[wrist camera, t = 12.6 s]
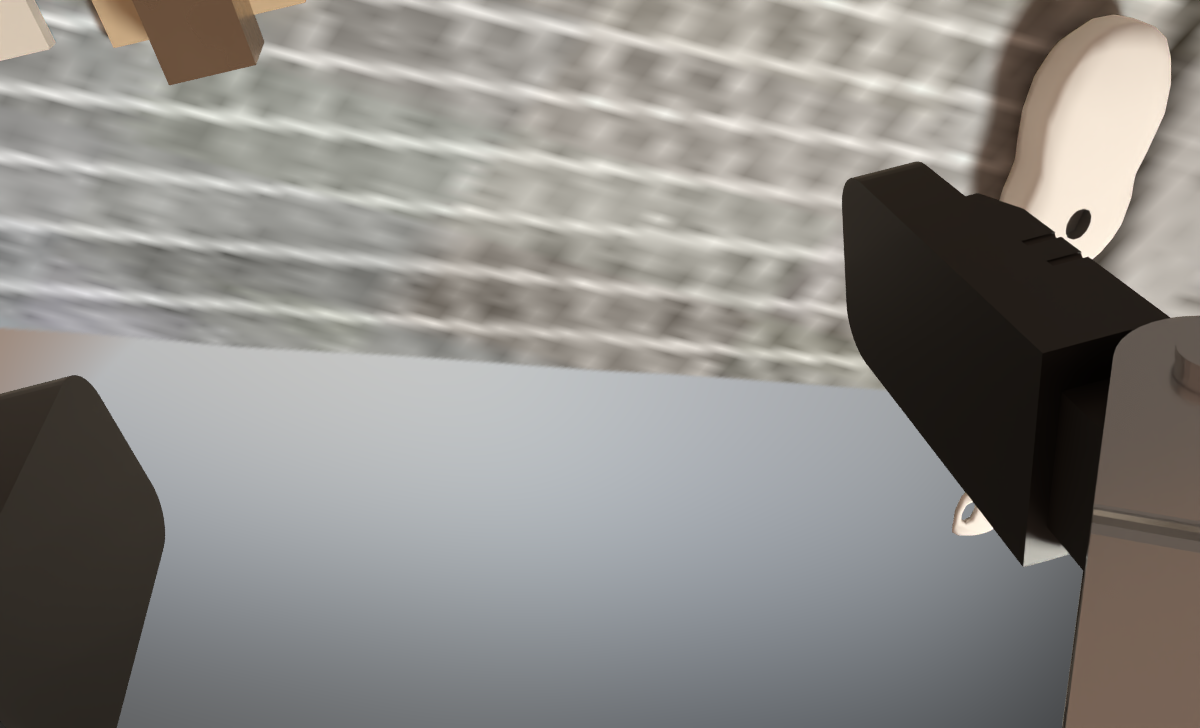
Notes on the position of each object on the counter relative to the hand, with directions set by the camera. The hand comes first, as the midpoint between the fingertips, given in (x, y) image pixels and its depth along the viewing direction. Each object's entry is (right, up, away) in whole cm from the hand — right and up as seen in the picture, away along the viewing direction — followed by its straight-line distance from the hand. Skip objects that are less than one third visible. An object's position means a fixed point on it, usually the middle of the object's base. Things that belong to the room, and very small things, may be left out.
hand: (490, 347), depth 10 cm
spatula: (+22, +3, +40) cm, 45 cm away
